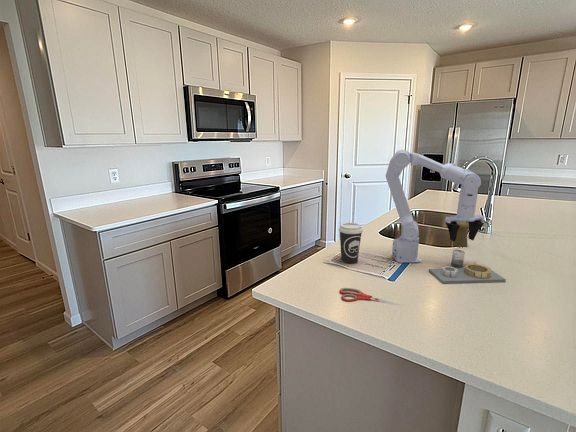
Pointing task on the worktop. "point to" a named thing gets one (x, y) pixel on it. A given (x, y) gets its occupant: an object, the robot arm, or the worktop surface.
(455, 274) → the narrow socket
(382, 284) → the worktop surface
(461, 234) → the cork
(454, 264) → the metal cylinder peg
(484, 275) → the wide socket
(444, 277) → the fitting board
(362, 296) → the scissors
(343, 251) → the coffee cup
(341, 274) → the worktop surface
